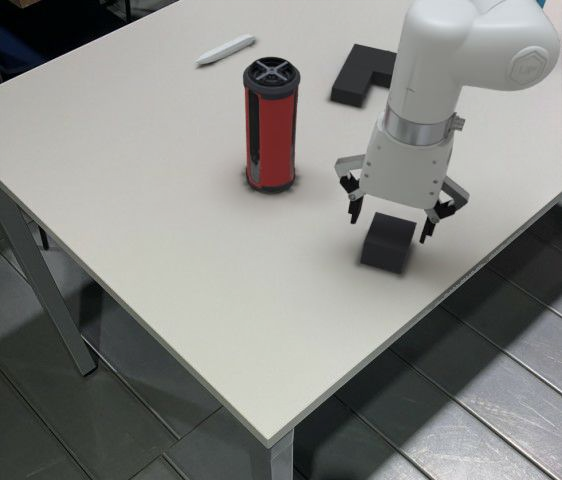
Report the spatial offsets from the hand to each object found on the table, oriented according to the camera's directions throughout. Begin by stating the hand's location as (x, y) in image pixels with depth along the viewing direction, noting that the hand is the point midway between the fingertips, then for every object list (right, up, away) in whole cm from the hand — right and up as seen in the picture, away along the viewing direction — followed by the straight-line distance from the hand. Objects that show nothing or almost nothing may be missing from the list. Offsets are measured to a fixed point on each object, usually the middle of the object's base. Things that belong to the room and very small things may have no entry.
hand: (389, 227), depth 85 cm
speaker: (-16, +11, +13) cm, 23 cm away
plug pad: (0, -3, +5) cm, 5 cm away
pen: (-25, +39, +29) cm, 55 cm away
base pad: (+5, +30, +25) cm, 40 cm away
